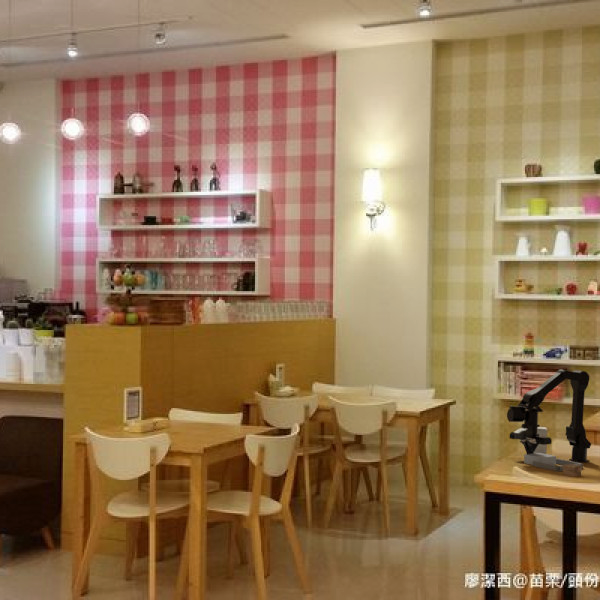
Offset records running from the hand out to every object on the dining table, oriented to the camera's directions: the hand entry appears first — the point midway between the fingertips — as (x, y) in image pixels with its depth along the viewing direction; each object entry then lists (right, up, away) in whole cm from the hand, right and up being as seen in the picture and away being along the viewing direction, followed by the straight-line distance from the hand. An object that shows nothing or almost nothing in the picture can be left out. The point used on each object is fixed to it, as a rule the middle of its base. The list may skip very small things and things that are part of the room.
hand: (529, 457), depth 393 cm
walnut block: (+10, -2, -28) cm, 30 cm away
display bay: (+8, -2, -11) cm, 14 cm away
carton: (+3, -2, -5) cm, 6 cm away
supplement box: (+8, -2, +18) cm, 19 cm away
